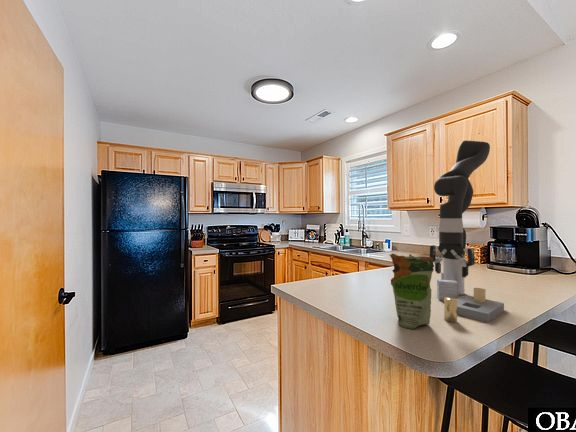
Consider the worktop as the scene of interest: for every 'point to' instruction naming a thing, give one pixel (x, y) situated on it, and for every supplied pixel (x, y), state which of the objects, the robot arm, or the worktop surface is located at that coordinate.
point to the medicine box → (447, 289)
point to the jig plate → (479, 306)
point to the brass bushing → (450, 309)
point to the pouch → (412, 289)
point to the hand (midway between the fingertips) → (451, 275)
